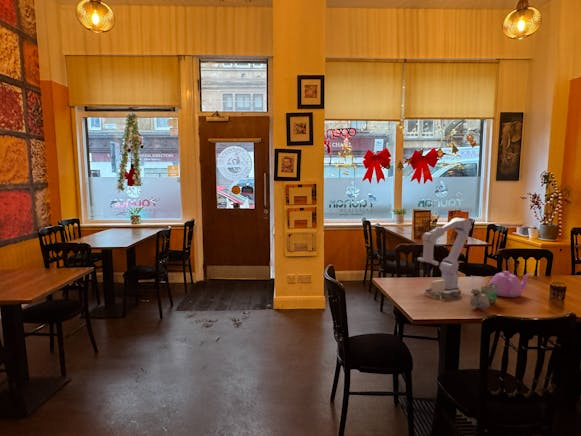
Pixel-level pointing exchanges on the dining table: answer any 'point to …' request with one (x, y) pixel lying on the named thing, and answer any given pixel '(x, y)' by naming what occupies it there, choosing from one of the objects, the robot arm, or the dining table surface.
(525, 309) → the dining table surface
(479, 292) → the grey lumpy figure
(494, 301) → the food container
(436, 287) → the pad
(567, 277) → the dining table surface
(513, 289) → the teapot
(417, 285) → the dining table surface
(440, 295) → the frame
